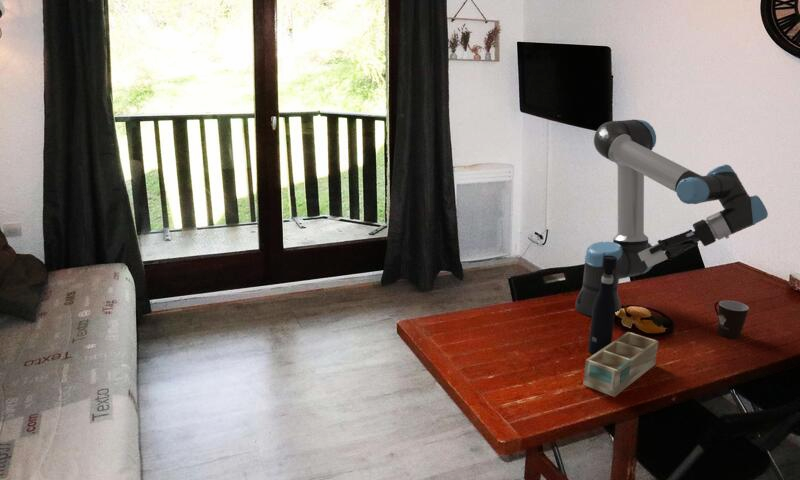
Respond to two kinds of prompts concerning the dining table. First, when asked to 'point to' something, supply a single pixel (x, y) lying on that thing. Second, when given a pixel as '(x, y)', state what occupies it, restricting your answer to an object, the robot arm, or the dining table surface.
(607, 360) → the wooden compartment box
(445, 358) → the dining table surface
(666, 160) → the robot arm
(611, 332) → the black metal bottle
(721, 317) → the coffee mug
